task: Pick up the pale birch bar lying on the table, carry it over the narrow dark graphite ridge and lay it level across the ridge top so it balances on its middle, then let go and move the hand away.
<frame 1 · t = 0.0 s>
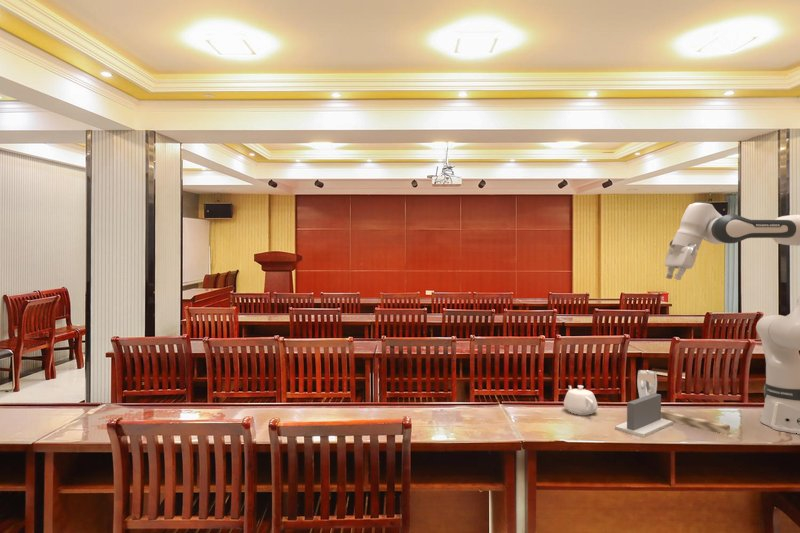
hand: (672, 279, 183), 52 cm above the table, tool tilted 20°, fingers open, 8 cm apart
beer glass: (646, 410, 194), on the table
teapot: (579, 411, 192), on the table
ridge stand: (644, 426, 174), on the table
birch bar: (689, 425, 176), on the table
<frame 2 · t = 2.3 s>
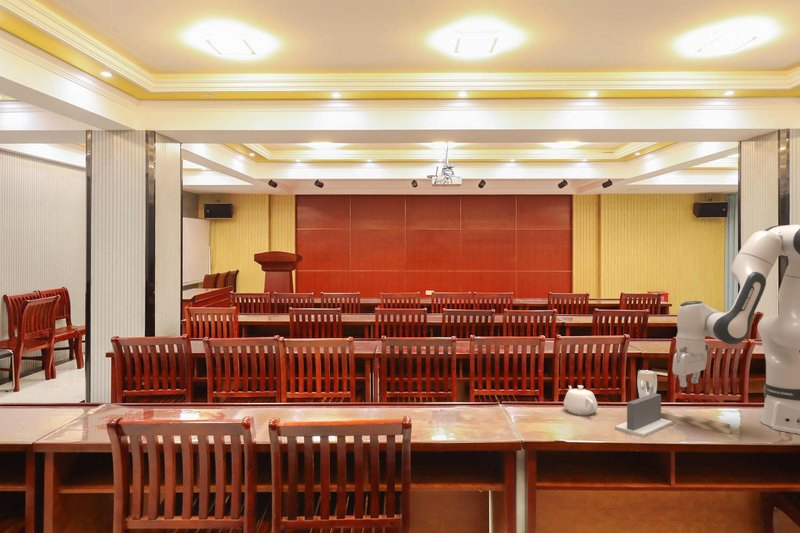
hand: (688, 384, 176), 14 cm above the table, tool pointing down, fingers open, 8 cm apart
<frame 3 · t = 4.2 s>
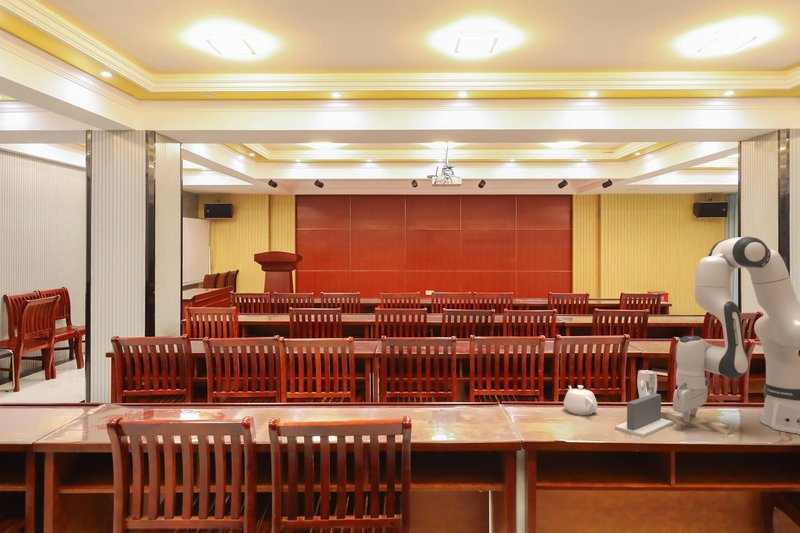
hand: (689, 420, 176), 2 cm above the table, tool pointing down, fingers closed on birch bar, 3 cm apart
birch bar: (689, 425, 176), on the table, touching gripper
everything else where it was.
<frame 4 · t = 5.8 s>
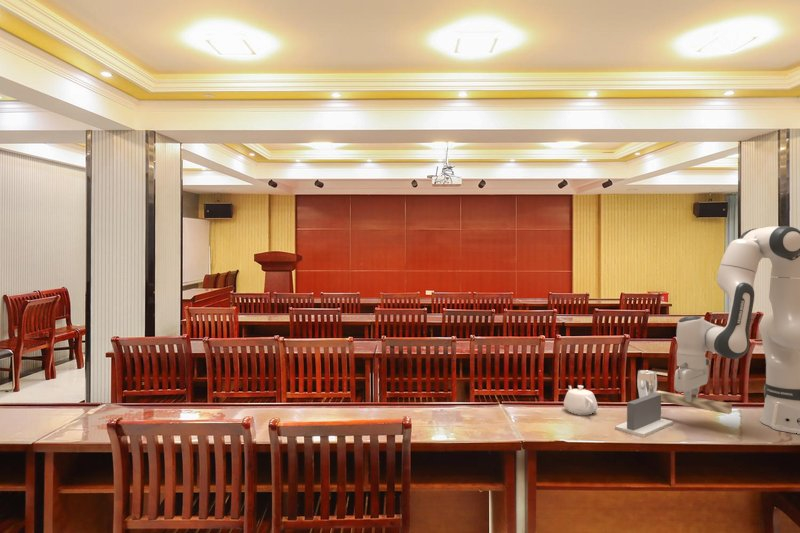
hand: (691, 400, 176), 9 cm above the table, tool pointing down, fingers closed on birch bar, 3 cm apart
birch bar: (691, 405, 176), point 7 cm above the table, touching gripper
everything else where it was.
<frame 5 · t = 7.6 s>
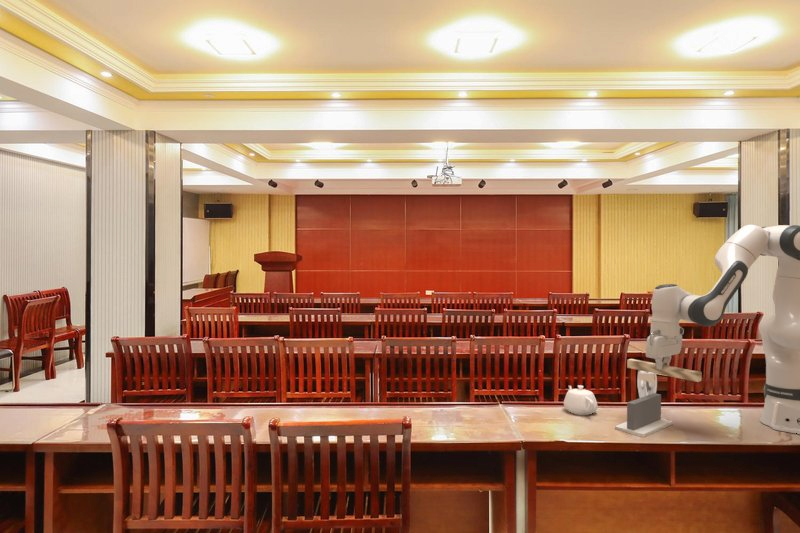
hand: (662, 368, 175), 20 cm above the table, tool pointing down, fingers closed on birch bar, 3 cm apart
birch bar: (662, 373, 175), point 19 cm above the table, touching gripper
everything else where it was.
when the fingers open (13 cm above the table, at t = 10.0 s): birch bar stays where it is, resting on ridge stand.
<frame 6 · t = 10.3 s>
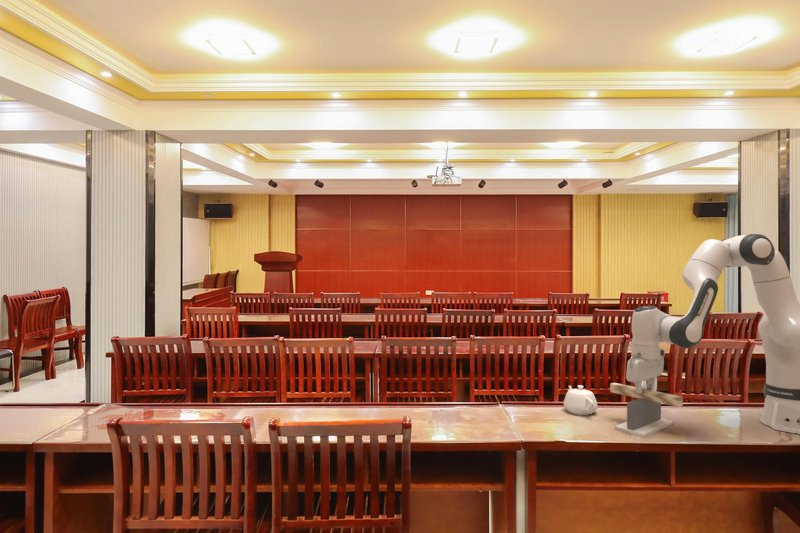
hand: (644, 391, 174), 13 cm above the table, tool pointing down, fingers open, 6 cm apart
birch bar: (644, 398, 174), point 10 cm above the table, touching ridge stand
everything else where it was.
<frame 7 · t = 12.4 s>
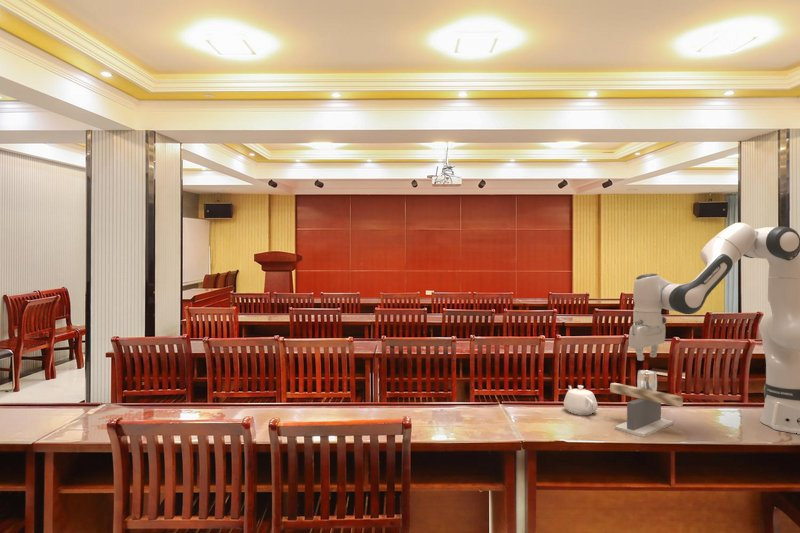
hand: (647, 358, 174), 24 cm above the table, tool pointing down, fingers open, 8 cm apart
nothing on the table moved.
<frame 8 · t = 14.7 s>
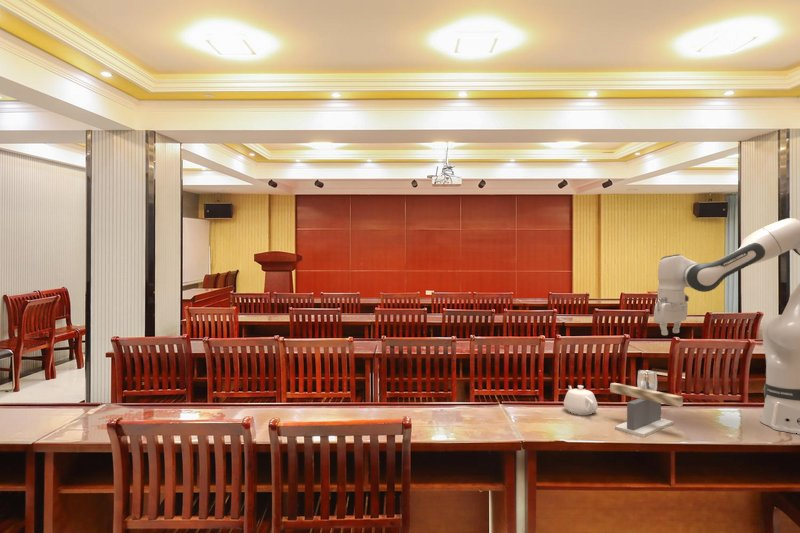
hand: (670, 333, 186), 31 cm above the table, tool pointing down, fingers open, 8 cm apart
nothing on the table moved.
at the end: birch bar inside the target area on the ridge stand (0.0 cm from its centre), point 10.0 cm above the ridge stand's base; birch bar touching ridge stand; birch bar tilted 0° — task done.
